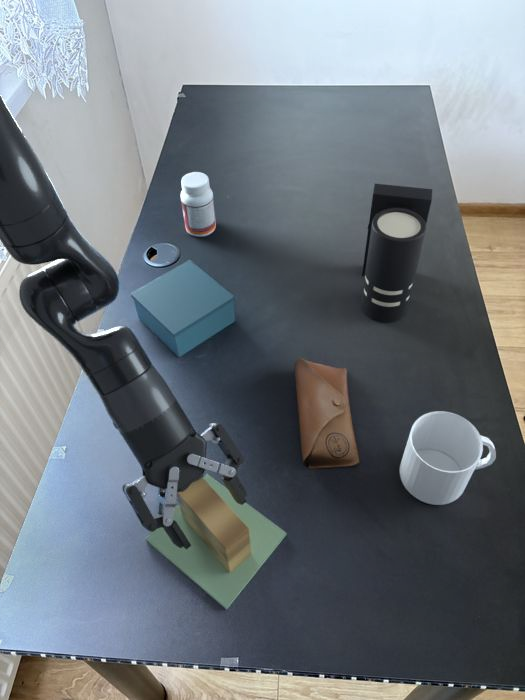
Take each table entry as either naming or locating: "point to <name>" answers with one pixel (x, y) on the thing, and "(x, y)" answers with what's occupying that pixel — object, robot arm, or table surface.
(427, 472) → the mug
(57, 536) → the table surface
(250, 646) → the table surface
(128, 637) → the table surface
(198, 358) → the table surface
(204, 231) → the pill bottle
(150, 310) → the toy box
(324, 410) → the sunglasses case
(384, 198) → the light fixture
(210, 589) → the mat
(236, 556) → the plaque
